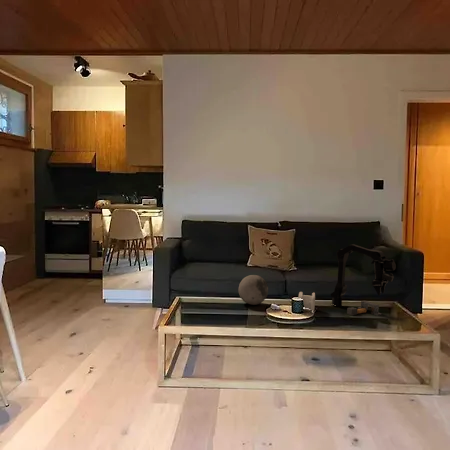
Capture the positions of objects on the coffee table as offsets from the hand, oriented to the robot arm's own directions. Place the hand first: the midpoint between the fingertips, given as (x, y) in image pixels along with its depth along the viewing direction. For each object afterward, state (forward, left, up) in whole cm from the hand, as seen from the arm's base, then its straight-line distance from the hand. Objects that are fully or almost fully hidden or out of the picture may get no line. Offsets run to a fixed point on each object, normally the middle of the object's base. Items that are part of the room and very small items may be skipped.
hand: (381, 294), depth 344 cm
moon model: (-52, -65, -14) cm, 84 cm away
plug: (-9, -11, -14) cm, 20 cm away
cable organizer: (-25, -41, -15) cm, 50 cm away
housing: (-9, 0, -14) cm, 17 cm away
